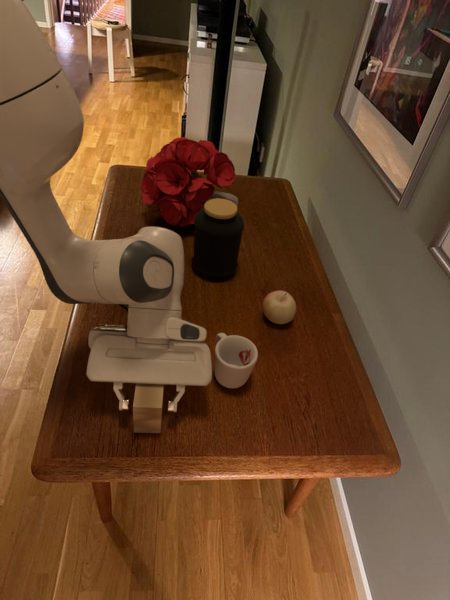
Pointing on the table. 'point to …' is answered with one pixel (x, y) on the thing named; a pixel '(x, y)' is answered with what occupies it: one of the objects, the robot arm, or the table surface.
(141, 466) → the table surface
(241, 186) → the table surface
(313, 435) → the table surface
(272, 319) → the fruit
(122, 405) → the robot arm
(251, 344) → the cup
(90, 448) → the table surface
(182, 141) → the bouquet
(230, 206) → the container
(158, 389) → the plain beige block
